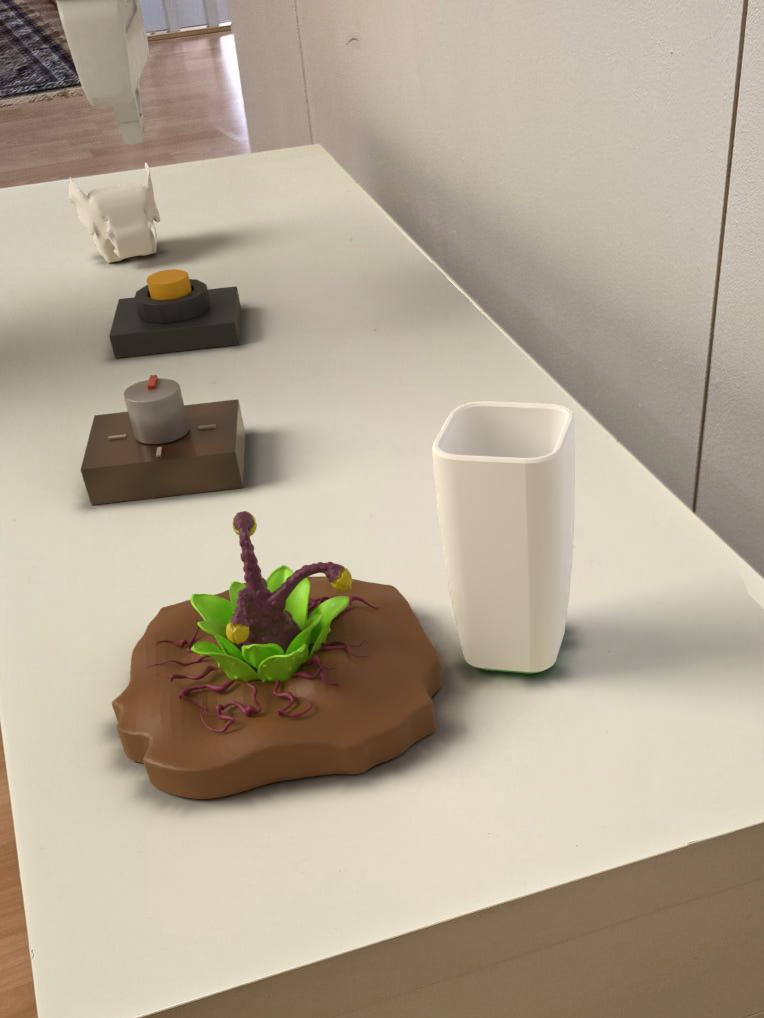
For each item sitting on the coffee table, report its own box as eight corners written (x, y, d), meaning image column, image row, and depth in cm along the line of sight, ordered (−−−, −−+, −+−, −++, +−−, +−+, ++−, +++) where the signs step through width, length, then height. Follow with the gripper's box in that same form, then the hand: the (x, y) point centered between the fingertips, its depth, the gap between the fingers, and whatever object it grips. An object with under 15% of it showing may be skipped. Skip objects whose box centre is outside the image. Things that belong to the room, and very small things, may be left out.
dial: (187, 441, 96) (175, 394, 94) (131, 447, 96) (118, 400, 94) (192, 418, 100) (181, 371, 97) (138, 423, 99) (126, 377, 97)
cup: (581, 624, 80) (579, 403, 70) (561, 690, 75) (556, 462, 64) (473, 616, 81) (456, 399, 71) (446, 680, 76) (424, 456, 66)
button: (149, 304, 118) (144, 285, 116) (152, 290, 120) (148, 271, 119) (190, 300, 118) (186, 281, 117) (193, 285, 121) (189, 267, 119)
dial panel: (91, 505, 96) (79, 467, 94) (104, 449, 103) (93, 413, 101) (243, 487, 97) (235, 450, 94) (245, 433, 104) (238, 397, 102)
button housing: (115, 358, 118) (103, 316, 115) (124, 320, 125) (113, 280, 122) (239, 345, 118) (230, 302, 116) (241, 308, 125) (233, 267, 123)
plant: (417, 586, 84) (400, 431, 77) (463, 761, 70) (447, 593, 63) (127, 628, 83) (80, 474, 75) (114, 816, 69) (54, 651, 61)
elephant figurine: (101, 281, 134) (78, 193, 128) (79, 251, 142) (56, 167, 136) (185, 263, 137) (166, 176, 130) (159, 235, 145) (139, 151, 138)
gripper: (69, -63, 108) (111, 115, 117) (36, -26, 93) (88, 175, 102) (141, -70, 108) (177, 108, 117) (119, -34, 93) (163, 167, 103)
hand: (135, 140), depth 110 cm, fingers closed
